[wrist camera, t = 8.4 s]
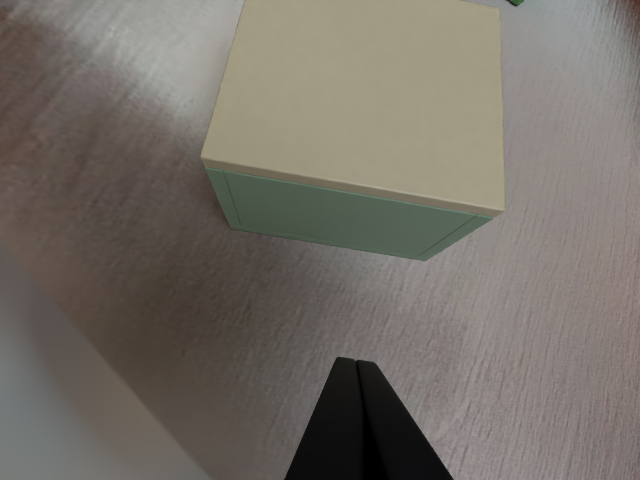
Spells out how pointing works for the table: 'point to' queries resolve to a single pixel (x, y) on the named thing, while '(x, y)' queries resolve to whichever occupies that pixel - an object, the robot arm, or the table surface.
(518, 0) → the ink box
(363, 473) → the robot arm
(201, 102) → the table surface
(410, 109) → the lid
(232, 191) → the chest
